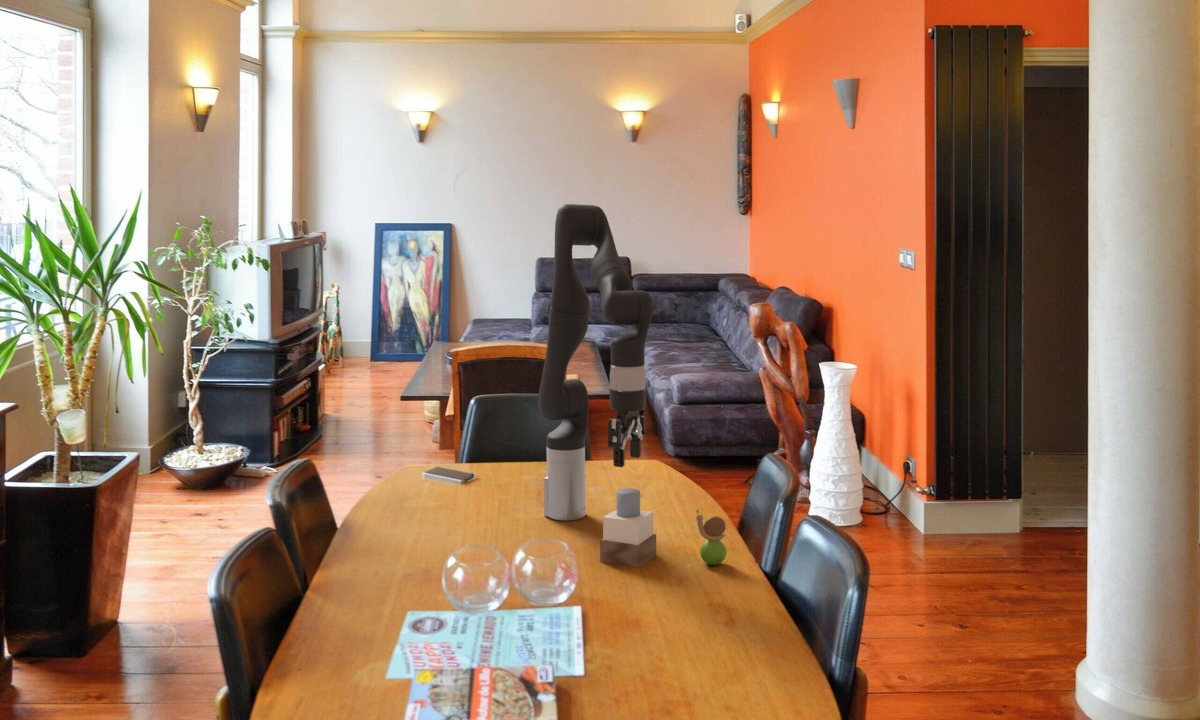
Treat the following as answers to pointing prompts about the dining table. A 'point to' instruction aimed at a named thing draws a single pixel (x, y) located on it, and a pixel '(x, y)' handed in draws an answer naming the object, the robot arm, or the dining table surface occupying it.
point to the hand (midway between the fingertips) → (627, 461)
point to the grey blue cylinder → (628, 503)
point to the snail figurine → (712, 539)
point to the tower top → (628, 527)
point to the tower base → (628, 552)
